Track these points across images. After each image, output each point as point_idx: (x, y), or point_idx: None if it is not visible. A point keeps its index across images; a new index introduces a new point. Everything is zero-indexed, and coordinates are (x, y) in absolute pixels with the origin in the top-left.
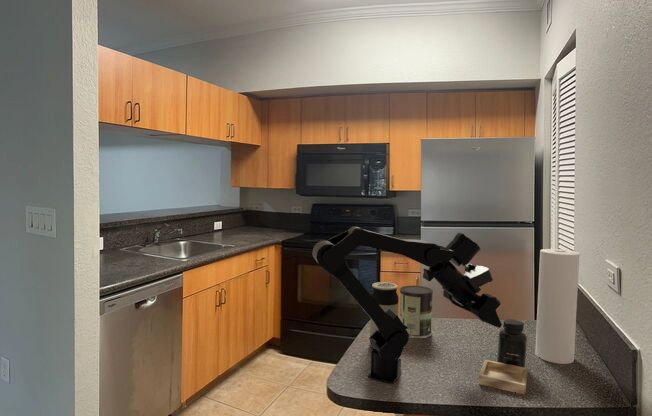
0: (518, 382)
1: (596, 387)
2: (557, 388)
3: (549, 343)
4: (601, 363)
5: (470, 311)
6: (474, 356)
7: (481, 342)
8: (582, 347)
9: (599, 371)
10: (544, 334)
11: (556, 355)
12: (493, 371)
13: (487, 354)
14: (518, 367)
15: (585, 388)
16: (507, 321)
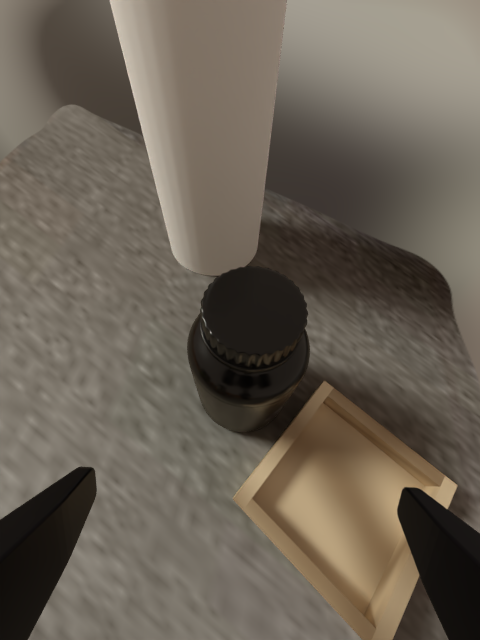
0: (436, 496)
1: (375, 271)
2: (384, 355)
3: (238, 233)
4: (268, 190)
5: (28, 632)
6: (134, 470)
7: (48, 360)
8: None
9: (302, 216)
10: (221, 218)
11: (251, 247)
12: (286, 495)
13: (139, 405)
14: (316, 407)
15: (381, 294)
16: (242, 335)
